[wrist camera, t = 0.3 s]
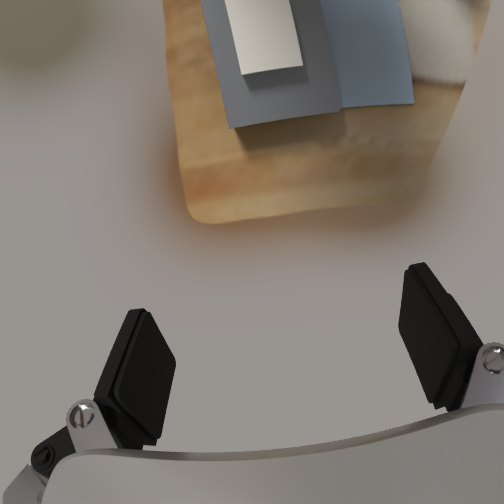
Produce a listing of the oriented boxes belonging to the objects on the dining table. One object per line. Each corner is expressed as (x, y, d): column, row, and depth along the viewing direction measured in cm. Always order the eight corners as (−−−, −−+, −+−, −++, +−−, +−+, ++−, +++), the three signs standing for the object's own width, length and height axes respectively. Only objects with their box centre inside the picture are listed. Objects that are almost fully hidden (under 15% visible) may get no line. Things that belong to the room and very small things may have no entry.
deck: (198, -25, 25) (192, -35, 21) (300, -40, 23) (305, -52, 20) (232, 123, 35) (229, 129, 31) (332, 108, 34) (340, 111, 30)
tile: (225, -1, 24) (223, -6, 22) (283, -10, 23) (285, -15, 21) (242, 75, 28) (241, 74, 27) (300, 66, 28) (303, 65, 26)
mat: (300, -40, 23) (300, -41, 23) (385, -38, 22) (386, -39, 22) (332, 108, 34) (332, 108, 33) (413, 103, 32) (414, 103, 32)
